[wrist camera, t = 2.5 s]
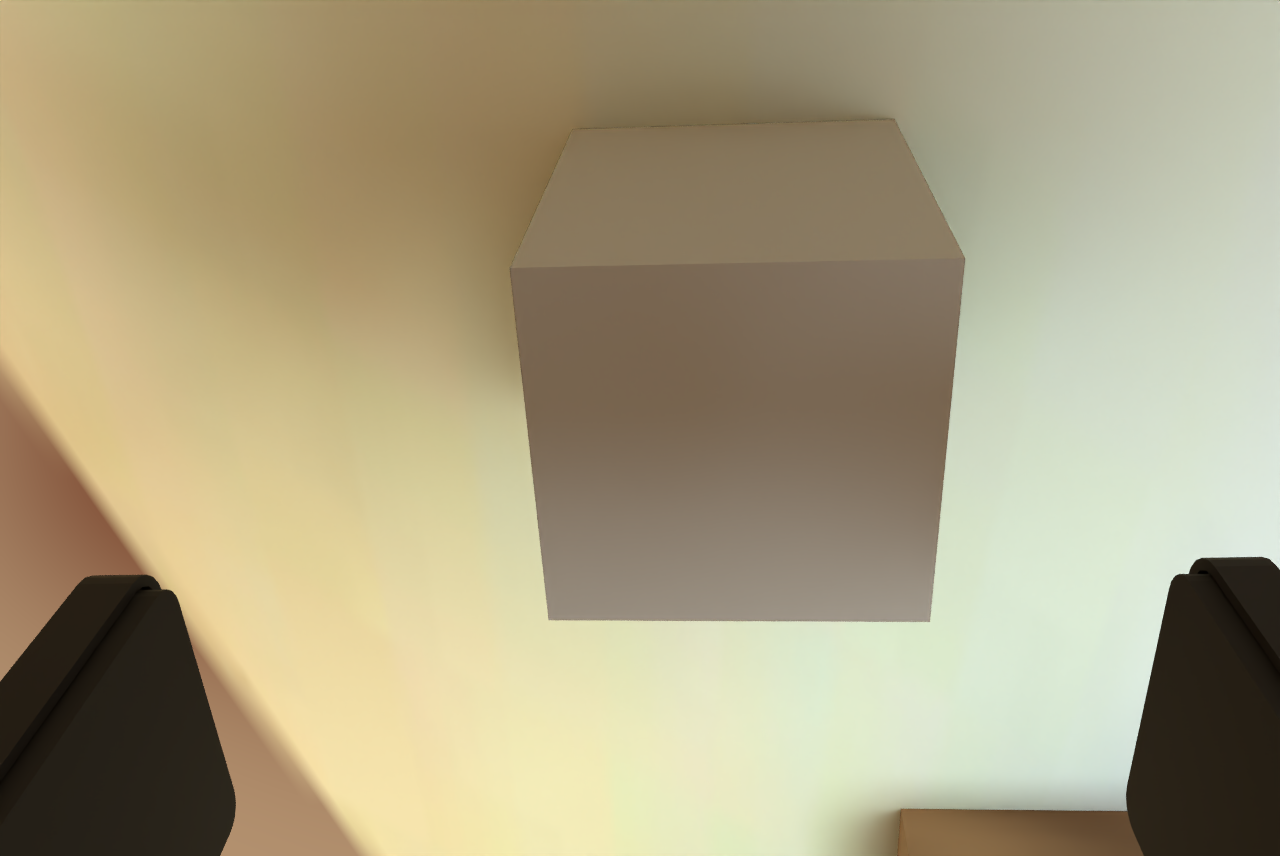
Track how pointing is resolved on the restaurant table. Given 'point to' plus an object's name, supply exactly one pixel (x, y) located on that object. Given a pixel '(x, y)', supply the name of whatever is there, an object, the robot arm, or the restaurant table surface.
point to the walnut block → (1015, 833)
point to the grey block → (738, 373)
